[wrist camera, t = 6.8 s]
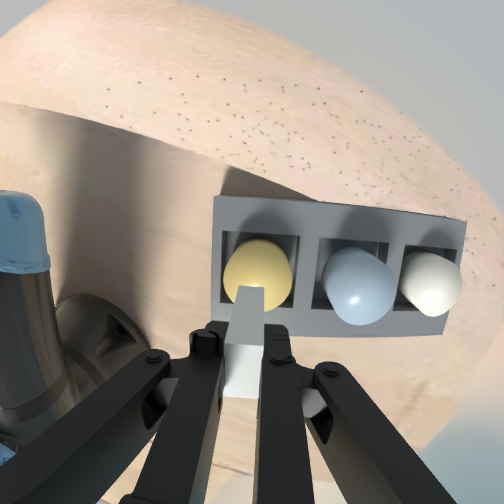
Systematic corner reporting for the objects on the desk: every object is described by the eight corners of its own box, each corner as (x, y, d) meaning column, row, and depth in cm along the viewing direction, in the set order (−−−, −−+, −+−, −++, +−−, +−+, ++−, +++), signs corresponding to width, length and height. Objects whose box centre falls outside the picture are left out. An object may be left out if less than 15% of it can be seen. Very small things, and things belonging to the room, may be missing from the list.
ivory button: (392, 298, 27) (410, 317, 22) (401, 247, 25) (422, 258, 21) (433, 299, 26) (453, 315, 22) (442, 251, 25) (466, 262, 21)
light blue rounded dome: (317, 302, 25) (326, 324, 21) (325, 244, 24) (337, 257, 20) (372, 304, 25) (388, 325, 21) (381, 248, 24) (402, 261, 20)
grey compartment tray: (216, 316, 29) (210, 329, 26) (219, 194, 26) (213, 195, 24) (430, 322, 28) (442, 334, 25) (451, 218, 26) (466, 222, 23)
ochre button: (229, 290, 27) (222, 309, 23) (231, 234, 26) (224, 244, 22) (285, 294, 27) (288, 314, 23) (290, 238, 26) (295, 249, 21)
